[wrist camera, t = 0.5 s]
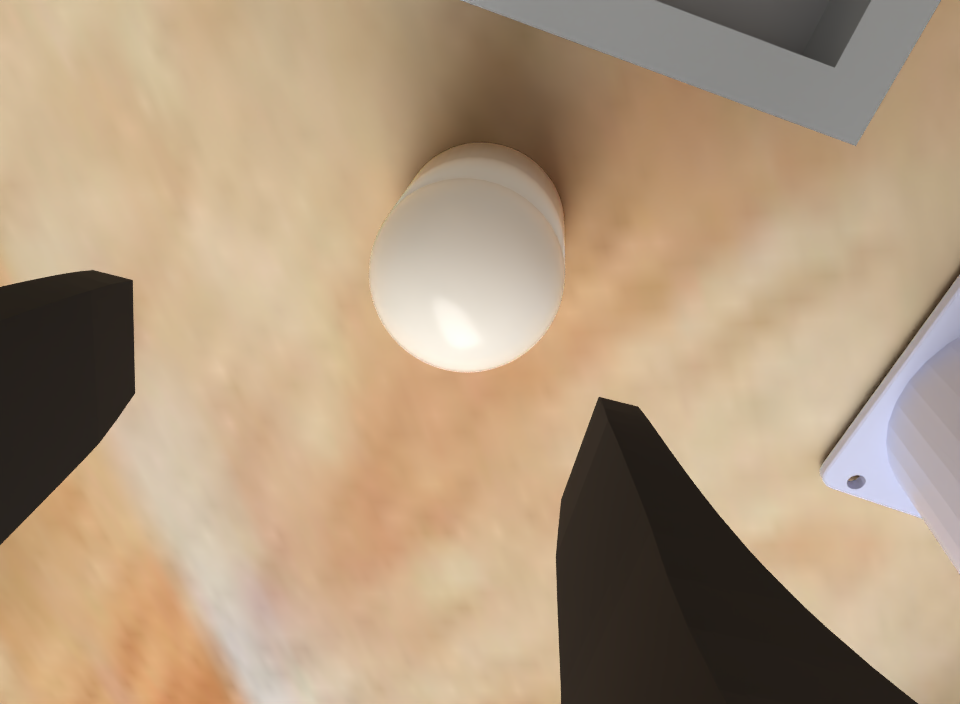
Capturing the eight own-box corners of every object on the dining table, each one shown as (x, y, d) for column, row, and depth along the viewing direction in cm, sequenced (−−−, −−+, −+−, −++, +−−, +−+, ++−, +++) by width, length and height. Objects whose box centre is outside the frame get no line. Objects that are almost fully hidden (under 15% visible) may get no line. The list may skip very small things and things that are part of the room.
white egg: (589, 175, 18) (601, 254, 13) (531, 320, 20) (521, 435, 15) (427, 117, 18) (374, 175, 13) (385, 270, 20) (325, 371, 15)
